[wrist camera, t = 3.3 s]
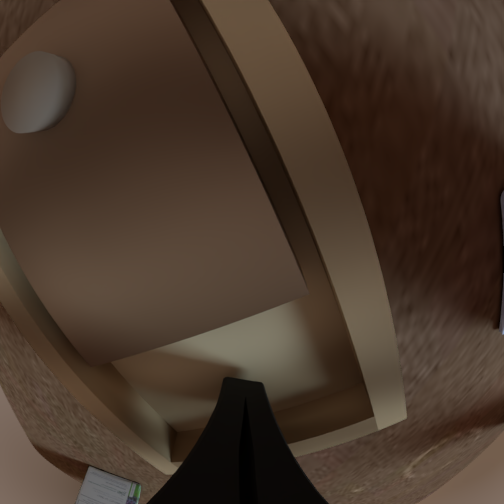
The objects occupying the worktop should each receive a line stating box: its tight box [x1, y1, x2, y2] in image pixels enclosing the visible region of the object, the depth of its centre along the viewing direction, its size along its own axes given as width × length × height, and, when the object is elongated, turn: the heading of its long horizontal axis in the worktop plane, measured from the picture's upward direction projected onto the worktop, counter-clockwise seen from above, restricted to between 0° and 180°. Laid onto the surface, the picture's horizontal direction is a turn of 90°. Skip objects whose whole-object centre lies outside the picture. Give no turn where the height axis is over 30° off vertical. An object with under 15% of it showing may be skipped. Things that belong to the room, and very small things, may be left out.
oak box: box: [0, 0, 407, 474], centre depth 9 cm, size 18×11×5 cm, turn 24°
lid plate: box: [0, 0, 309, 367], centre depth 6 cm, size 10×7×2 cm
